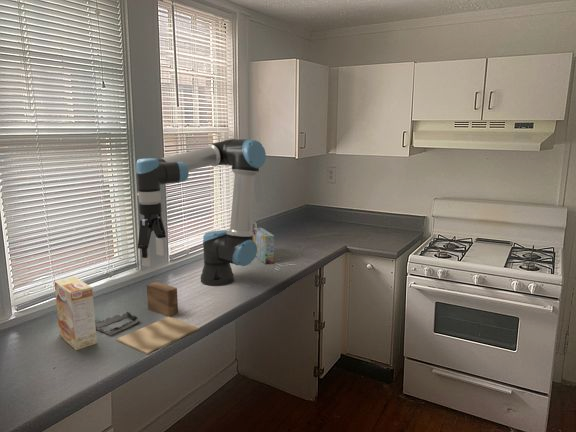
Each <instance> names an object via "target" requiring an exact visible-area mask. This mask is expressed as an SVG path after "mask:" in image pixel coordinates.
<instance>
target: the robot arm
mask: <svg viewBox="0 0 576 432" xmlns="http://www.w3.org/2000/svg"><path fill="white" fill-rule="evenodd" d="M266 154H267V153H266V149H265V147H264V146H263V144H262V143H261V142H260V141H258V140H255V139H249V138H247V139H240V138H239V139H234V138H230V139H225V140H221V141H218V142H214V143H211V144H208V145H207V146H206V147H204V148H200V149H195V150H191V151H188V152H183V153H177V154H174V155H170V156H165V157H162V158H154V157H153V158H152V157H151V158H148V157H147V158H139V159H137V161H136V164H135V167H136V168H135V169H136V170H135V174H136V180H137V182H136V183H137V195H136V196H137V197H138V202H139V204H138V208H139V210H138V211H139V214H140V215H141V216H143V219H140V220H139V232H138V233H139V234H138V239H137V240H138V241H137V242H138V243H137V249H138V250H139V249H140V253H141V267H149V268H150V267H151V266H152V265H151V252H150V251H151V250H150V247H149V245H150V241H151V240H150V239H151V235H152V233H153V232H154V233H153V234H155V252H156V256H164V255H165V245H164V243H165V242H164V238H166V237H167V235H166V229H165V227H164V226H165V225H164V223H163V218H162V203H161V201H162V197H161V196H162V195H161V185H167V184H169V185H170V184H176V183H178V184H179V183H183V182H185V181H187V179H188V178H189V172H190V171H194V170H197V169H200V168H204V167H207V166H212V167H217V166H231V171H232V172H233V174H234V180H233V193H232V203H231V212H230V213H231V216H230V223H229V224H230V226H229V230H227V229H226V230H225V229H223V230H221V229H220V230H213V231H208V232H205V233H204V234H203V239H202V240H203V241H202V243H203V244H202V247H203V268H202V272H201V275H200V282H201V283H202V284H203V285H207V286H214V287H215V286H224V285H229V284H231V283H233V282H234V281H235V273H234V272H233V269H232V266H231V264H232V265H234V266H235V265H236V266H242V267H245V266H246V267H247V266H248V265H250V264H252V262H253V261H254V259H255V258H256V253H257V245H256V243H255V242H254V241H253V232H251V230H250V229H251V222H252V221H251V219H252V212H253V210H252V209H253V200H254V188H255V187H254V186H255V177H256V176H257V174H259V171H260V168H261V167H262V166H264V164H265V162H266V159H267V157H266V156H267V155H266Z"/></svg>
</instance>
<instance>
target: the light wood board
mask: <svg viewBox="0 0 576 432" xmlns="http://www.w3.org/2000/svg"><path fill="white" fill-rule="evenodd" d="M199 330H200V327H198V326H196V325H193V324H192V323H191V324H190V323H187V322H185V321H182V320H179V319H177V318H173V317H172V316H170V317H168V316H166V317H164V318H162V319H160V320H157V321H156V322H152V323H150V324H148V325H145V326H143V327H141V328H139V329H136V330H134V331H132V332H129V333H127V334H125V335H122V336H119V337H118V338H116V341H117V342H119V343H121V344H123V345H126V346H128V347H130V348H132V349H134V350H136V351H139V352H141V353H143V354H145V355H149V354H151V353H153V352H155V351H158V350H160V349H162V348H163V347H165V346H168V345H170V344H172V343H174V342H176V341H178V340H181V339H182V338H185V337H186V336H188V335H191V334H193V333H195V332H196V331H199Z"/></svg>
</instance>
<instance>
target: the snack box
mask: <svg viewBox="0 0 576 432" xmlns="http://www.w3.org/2000/svg"><path fill="white" fill-rule="evenodd" d="M252 234H253V239H252V240H253V241H254V242H255V243H256V245H257V253H256V256H257V257H256V256H255V257H256V258H258V259H259V260H260V261H261V262H262V263H263V262H264V263H265V265H267V263H272V264H275V235H274V234H272V233H271V232H269V231H267V230H266V229H265V228H263V227H254V228H253V232H252Z"/></svg>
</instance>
